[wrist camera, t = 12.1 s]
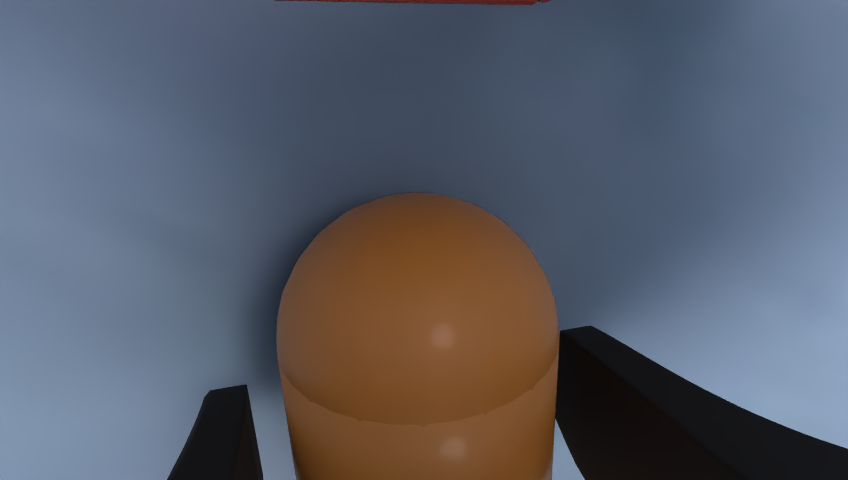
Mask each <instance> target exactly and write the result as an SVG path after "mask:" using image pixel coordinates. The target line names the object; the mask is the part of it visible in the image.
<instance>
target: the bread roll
mask: <svg viewBox="0 0 848 480" xmlns="http://www.w3.org/2000/svg"><path fill="white" fill-rule="evenodd" d="M276 333H277V357H278V364H279V370H280V377H281V383H282V390H283V396H284V403H285V410H286V416H287V423H288V429H289V436H290V442H291V449H292V456H293V462H294V469H295V475H296V480H552V464H553V446H554V428H555V409H556V391H557V373H558V354H559V328H558V315H557V310H556V305H555V300H554V297H553V294H552V290H551V287H550V284H549V281H548V278H547V276H546V275H545V273H544V271H543V269H542V268H541V266H540V264H539V263H538V261H537V259H536V258H535V256H534V254H533V252H532V251H531V249H530V247H529V246H528V245H527V244H526V243H525V242H524V241H523V240H522V239H521V238H520V237H519V236H518V235H517V234H516V233H515V232H514V231H513V230H512V229H511V228H510V227H509V226H508V225H507V224H506V223H505V222H503V221H502V220H500V219H499V218H497V217H495V216H494V215H492V214H491V213H489V212H487V211H486V210H484V209H482V208H481V207H479V206H477V205H475V204H472V203H470V202H467V201H464V200H460V199H456V198H453V197H449V196H445V195H441V194H435V193H423V192H411V193H400V194H394V195H389V196H385V197H381V198H378V199H375V200H373V201H370V202H367V203H365V204H362V205H359V206H357V207H355V208H353V209H351V210H349V211H347V212H345V213H344V214H343V215H341V216H340V217H339V218H337V219H336V220H335V221H333V222H332V223H331V224H329V225H328V226H327V227H325V228H324V229H323V230H322V231H320V232H319V234H318V235H317V236H316V237H315V238H314V239H313V240H312V242H311V243H310V244H309V245H308V247H307V248H306V249H305V250H304V252H303V253H302V254H301V256H300V257H299V258H298V260H297V262H296V264H295V266H294V268H293V270H292V273H291V275H290V277H289V279H288V281H287V284H286V286H285V288H284V290H283V292H282V297H281V302H280V307H279V312H278V317H277V330H276Z"/></svg>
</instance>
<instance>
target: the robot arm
mask: <svg viewBox="0 0 848 480" xmlns="http://www.w3.org/2000/svg"><path fill="white" fill-rule="evenodd" d="M555 418H556V421H557V423H558V425H559V428H560V430H561V432H562V435H563V437H564V439H565V442H566V444H567V446H568V448H569V450H570V453H571V455H572V457H573V459H574V461H575V463H576V465H577V467H578V469H579V470H580V472H581V474H582V475H583V477H584V479H585V480H848V449H846V448H843V447H840V446H837V445H834V444H831V443H829V442H826V441H823V440H820V439H817V438H814V437H811V436H808V435H806V434H803V433H800V432H798V431H795V430H792V429H790V428H788V427H785V426H783V425H780V424H778V423H776V422H773V421H771V420H768V419H766V418H764V417H761V416H759V415H756V414H754V413H752V412H750V411H747V410H745V409H743V408H741V407H739V406H737V405H735V404H733V403H731V402H729V401H727V400H725V399H723V398H721V397H719V396H716V395H714V394H712V393H710V392H708V391H706V390H704V389H703V388H701V387H699V386H697V385H695V384H693V383H691V382H689V381H688V380H686V379H684V378H682V377H680V376H679V375H677V374H675V373H673V372H671V371H670V370H668V369H666V368H664V367H663V366H661V365H659V364H657V363H656V362H654V361H652V360H650V359H649V358H647V357H645V356H644V355H642V354H640V353H638V352H637V351H635V350H633V349H632V348H630V347H628V346H627V345H625V344H623V343H621V342H620V341H618V340H616V339H615V338H613V337H611V336H609V335H608V334H606V333H604V332H602V331H600V330H598V329H596V328H594V327H593V326H585V327H579V328H573V329H567V330H561V331H560V340H559V358H558V376H557V395H556V413H555ZM167 480H263V473H262V467H261V461H260V456H259V450H258V445H257V439H256V433H255V428H254V422H253V417H252V411H251V405H250V400H249V394H248V389H247V384H245V385H239V386H233V387H228V388H222V389H216V390H210V391H209V393H208V394H207V395H206V396H205V397H204V400H203V403H202V406H201V409H200V411H199V414H198V416H197V419H196V421H195V424H194V426H193V428H192V430H191V433H190V435H189V437H188V439H187V441H186V443H185V446H184V448H183V450H182V452H181V454H180V456H179V458H178V459H177V461H176V463H175V465H174V467H173V469H172V471H171V473H170V475H169V477H168V479H167Z"/></svg>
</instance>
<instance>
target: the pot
mask: <svg viewBox="0 0 848 480" xmlns="http://www.w3.org/2000/svg"><path fill="white" fill-rule="evenodd" d="M275 1H322V2H377V3H432V4H487V5H533V4H536V3H537V2H547V1H550V0H275Z"/></svg>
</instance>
